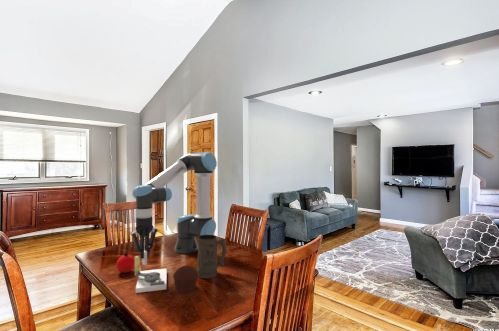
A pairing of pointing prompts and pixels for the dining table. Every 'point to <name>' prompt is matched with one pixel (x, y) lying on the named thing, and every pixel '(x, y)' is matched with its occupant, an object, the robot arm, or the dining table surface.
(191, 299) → the dining table surface
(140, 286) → the stand
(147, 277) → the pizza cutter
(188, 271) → the muffin
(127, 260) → the ornament
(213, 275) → the beer stein
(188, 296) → the dining table surface
